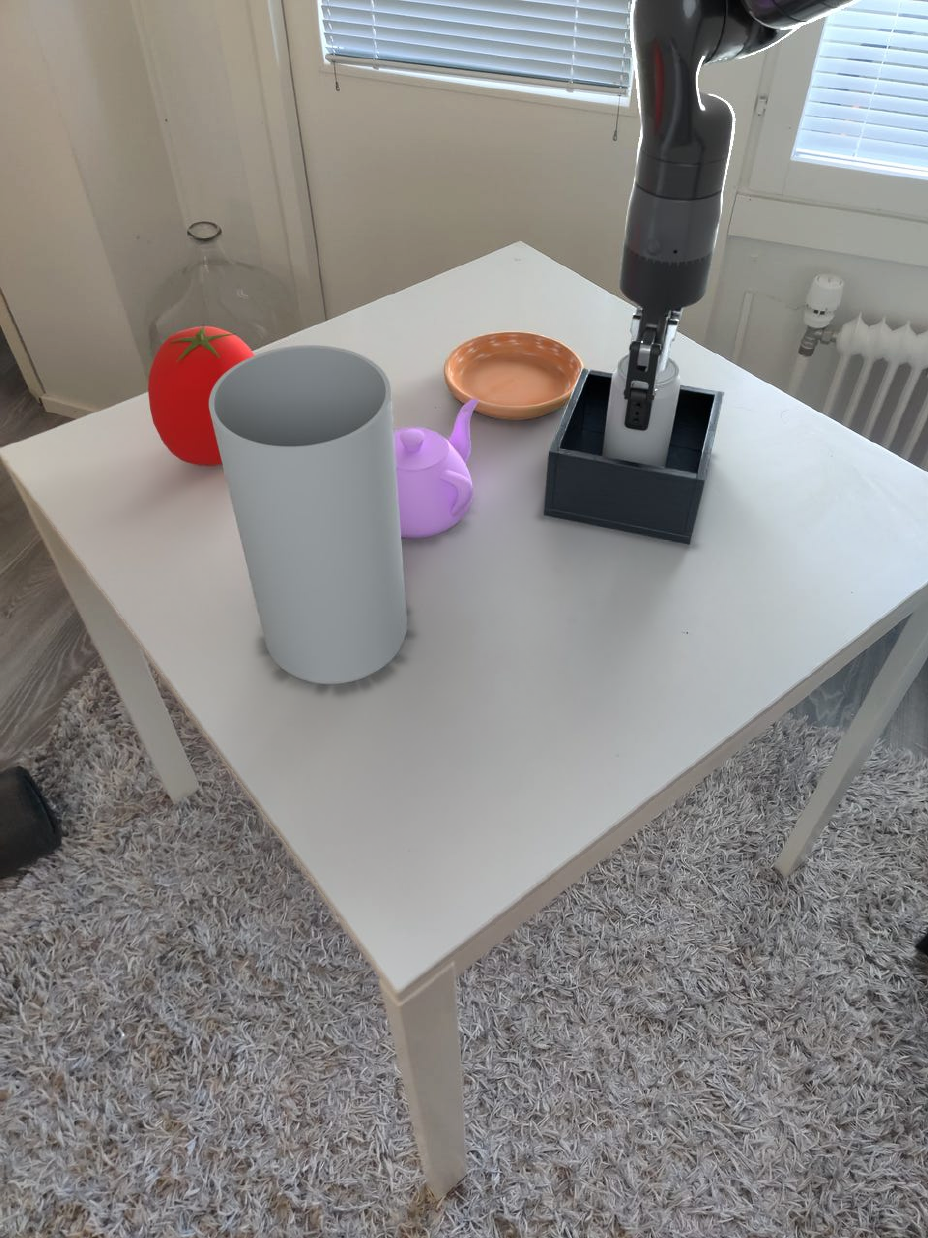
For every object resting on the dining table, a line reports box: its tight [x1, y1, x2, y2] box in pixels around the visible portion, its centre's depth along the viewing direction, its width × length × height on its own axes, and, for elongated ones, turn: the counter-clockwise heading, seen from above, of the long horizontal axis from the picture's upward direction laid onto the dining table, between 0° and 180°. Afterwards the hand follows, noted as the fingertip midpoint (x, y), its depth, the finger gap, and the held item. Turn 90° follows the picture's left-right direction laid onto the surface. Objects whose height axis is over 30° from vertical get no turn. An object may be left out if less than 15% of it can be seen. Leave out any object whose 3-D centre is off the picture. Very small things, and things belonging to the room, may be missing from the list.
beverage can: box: [602, 354, 682, 468], centre depth 92 cm, size 6×6×12 cm
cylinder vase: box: [209, 344, 408, 685], centre depth 75 cm, size 12×12×25 cm
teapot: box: [394, 398, 478, 539], centre depth 92 cm, size 12×14×9 cm
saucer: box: [443, 330, 585, 421], centre depth 108 cm, size 16×16×3 cm
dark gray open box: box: [543, 368, 725, 545], centre depth 95 cm, size 15×15×8 cm
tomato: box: [147, 324, 256, 467], centre depth 97 cm, size 13×11×14 cm
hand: (642, 405), depth 90 cm, fingers closed on beverage can, 6 cm apart
